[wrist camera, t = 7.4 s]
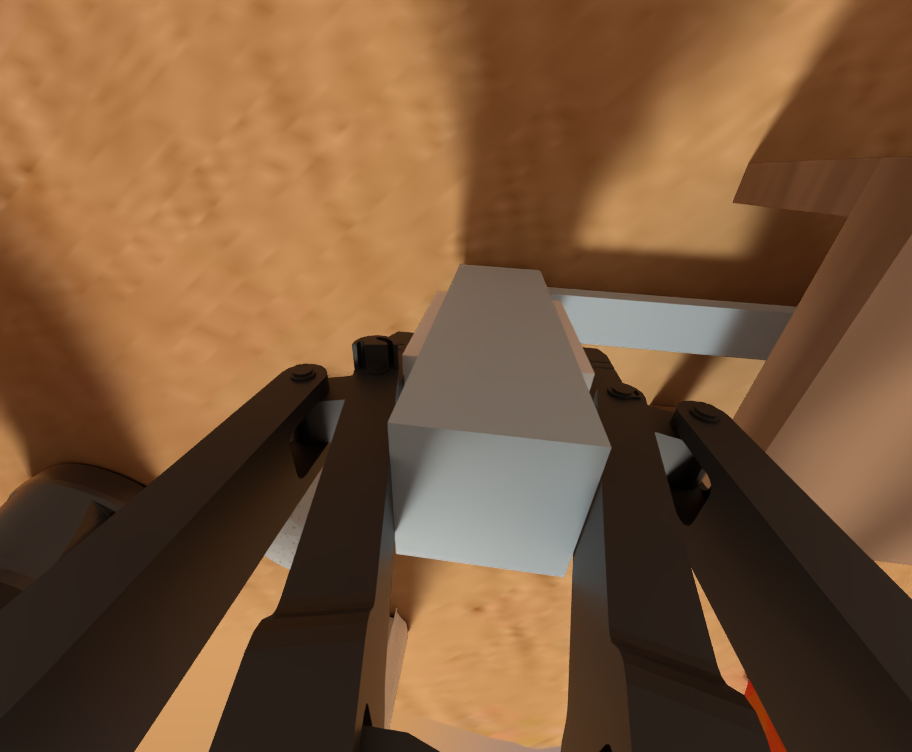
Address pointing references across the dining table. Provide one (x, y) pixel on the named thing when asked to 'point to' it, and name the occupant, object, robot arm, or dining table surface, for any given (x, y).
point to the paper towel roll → (394, 662)
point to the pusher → (528, 411)
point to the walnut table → (844, 351)
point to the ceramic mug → (292, 530)
